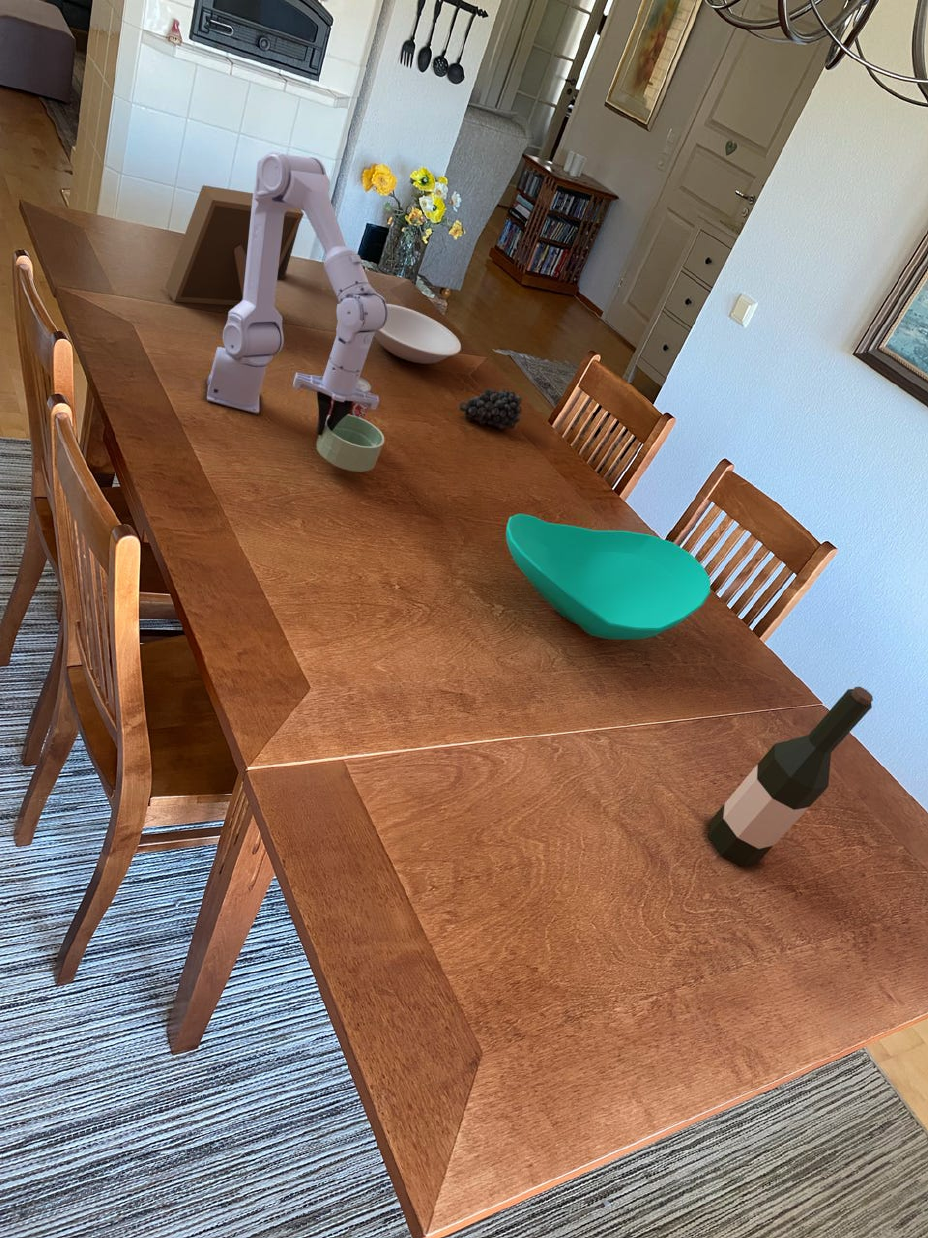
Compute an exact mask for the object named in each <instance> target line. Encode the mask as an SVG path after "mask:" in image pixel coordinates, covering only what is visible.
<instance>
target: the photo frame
mask: <svg viewBox="0 0 928 1238" xmlns="http://www.w3.org/2000/svg"><path fill="white" fill-rule="evenodd" d="M252 199H253V192H247V191H241V190H235V189H228V188H223V187H216V186H212V185H211V186H210V185H205V184H203V185H202V186H201V189H200V192H199V195H198V197H197V200H196V203H195V204H194V208H193V211H192V214H191V216H190V220H189V222H188V225H187V227H186V230H185V233H184V236H183V238H182V240H181V243H180V247H179V249H178V252H177V254H176V258H175V260H174V263H173V265H172V268H171V270H170V274H169V276H168V279H167V283H166V285H165V290H166V291H167V292H168V294H169V295H170V297H171V299H172V301H173V302H174V303H175V302H176V303H192V304H206V305H223V306H236V305H238V304H239V303H240V302H241V301H242V300H243V291H244V281H245V271H246V261H247V250H248V240H249V230H250V220H251V209H252ZM304 213H305V212H304V211H303V210H301V209H299V208H297V207H295V206H294V207H292V208H291V209H290V210H288V211H287V212H286V213H285V214H284V223H283V231H282V240H281V249H280V258H279V267H280V265H281V263H282V261H283V259H284V256H285V254H286V252H287V250H288V248H289V246H290V243H291V241H292V239H293V237H294V235H295V232H296V230H297V228H298V229H299V227H300V224H301V222H302V219H303V217H304V215H305V214H304ZM298 226H299V227H298ZM279 267H278V270H279Z"/></svg>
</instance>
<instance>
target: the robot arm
mask: <svg viewBox="0 0 928 1238" xmlns="http://www.w3.org/2000/svg"><path fill="white" fill-rule="evenodd" d="M330 188H331V180H330V178H329V177H328V175H327V171H326V167H325V165H324V164H323V162H322V161H321V160H320V159H318V158H317V157H314V156H309V157H306V156H300V155H299V156H298V155H291V154H286V153H281V152H278V151H269V152H268V153H266V154H265V155H264V156H263V157H261V158H259V160H258V161H257V165H256V175H255V186H254V189H253V191H252V193H253V199H252V209H251V220H250V230H249V240H248V250H247V261H246V271H245V281H244V291H243V300H242V301H241V302H240V303H239V304H238V305H234V306H233V308H231V309H230V310H229V311H228V314H227V320H226V324H225V325H224V328H223V329H222V343H223V346H224V347H220V346H217V348H216V351H215V354H214V358H213V362H212V366H211V371H210V374H209V375H208V377H207V382H206V385H207V392H206V393H207V394H206V400H207V401H208V402H211V403H216V404H218V405H219V404H220V405H223V406H226V407H231V408H234V409H237V410H242V411H245V412H249V413H253V414H259V413H260V394H261V390H262V386H263V383H264V380H265V376H266V373H267V368H268V365H269V363H270V362H272V361H273V358H274V356H276V355H278V354H279V353H280V352H281V351H282V350H283V347H284V342H285V339H284V338H285V337H284V331H283V316H282V315H281V314H280V312H279V311H278V310H277V309H276V307H275V303H276V301H275V300H276V292H277V283H278V278H277V275H278V267H279V258H280V249H281V240H282V231H283V223H284V214H285V213H286V212H287V211H288V210H290V209H291V208H292V207H294V206H295V207H297V208H299V209H301V210H302V212H304V213H305V215H306V217H307V219H308V222H309V223H310V224H311V225H310V226H311V227H312V229H313V231H314V233H315V234H316V237H317V238H318V241H319V243H320V244H321V247H322V248H323V250H324V253H325V254H326V256H325V259H324V261H323V262H324V263H323V268H324V270H325V273H326V275H327V278H328V281H329V282H330V284H331V287H332V289H333V292H334V294H335V296H336V299H337V301H338V303H337V305H336V319H337V325H336V329H335V331H336V332H335V333H336V336H335V339H334V340H333V341H334V342H333V345H332V348H331V351H330V354H329V358H328V361H327V364H326V365H325V366H326V367H325V369H324V373H323V376H321V375H311V374H305V373H300V372H295V374H294V378H293V381H292V388H294V389H296V390H300V389H303V390H307V391H311V392H314V393H316V399H317V405H318V420H317V427H316V434H317V435H318V436H319V435H322V432H323V429H324V425H325V421H326V419H327V416H328V414H329V411H330V409H331V407H332V406H331V401H332V398H333V399H334V403H333V407H332V410H331V413H330V416H329V419H328V421H327V425H328V427H329V429H330V430H331V431H333V429H334V428H335V426H336V425H337V424H338V423H339V422H340V421H341V420H342V419H343V418H344V417H345V416H346V415H348V414H349V413H350V411H351V409H352V402H353V403H357V404H360V405H364V406H367V407H368V408H369V409H370V410H372V411H377V408H378V405H379V402H380V399H379V395H377V394H374V393H372V392H370V393H369V392H366V391H364V390H362V389H360V388H357V387H356V386H357V383H358V380H359V377H360V378H361V375H362V371H363V369H364V365H365V363H366V360H367V356H368V354H369V351H370V348H371V346H372V342H373V340H374V338H375V336H374V334H375V332H372V331H376V330H379V329H381V328H383V327H384V325H385V324H386V321H387V318H388V309H387V305H386V304H387V301H386V299H385V297H384V296H383V295H381V294H380V293H378V292H376V290H375V288H373V287H372V285H371V284H370V282H369V279H368V277H367V274H366V272H365V270H364V267H363V265H362V262H363V261H362V258H361V255H359V254H358V253H357V251H356V250H354V249H352V248H349V247H348V246H347V244H346V242H345V239H344V236H343V233H342V230H341V227H340V224H339V222H338V219H337V215H336V212H335V210H334V207H333V203H332V201H331V198H330V196H329V192H330ZM331 397H332V398H331Z"/></svg>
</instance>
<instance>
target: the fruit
mask: <svg viewBox="0 0 928 1238" xmlns="http://www.w3.org/2000/svg"><path fill="white" fill-rule="evenodd" d="M522 401H523V399H522V397H521V396H520V395H516V392H515V391H513V390H506V389H505V388H500V389H499V391H498V390H495V389H494V390H492V389H490V388H487V389H485V390H484V392H483V393H480V395H479V396H473V397H471V398H470V399H468V401H467V402H464V401H463V402H461V403H459V405H458V407H459V410H460V411H462V412H464V415H463V416H464V418H465V419H466V420H471V421H473V420H475V419H476V420H477V421H478V423H479V424H480V425H485V424H487V425H489V426H491V427H494V426H495V427H496V428H497V429H498V430H503V429H504V428H505V427H507V428H508V429H509V430H513V429H515V427H516V424H517V423H519V422H520V421H521V415H520V414H522V415H523V414H524V413H523V409H522V406H520V405H521V404H522ZM486 422H487V423H486Z"/></svg>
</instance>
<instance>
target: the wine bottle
mask: <svg viewBox="0 0 928 1238" xmlns="http://www.w3.org/2000/svg"><path fill="white" fill-rule="evenodd" d="M873 701H874V699H873V695H872V693H870V692H869V691H868V689H866V688H864V687H862V686H855V687H854V688H848V689H847V690H846V691H845V692H844V693H843V695H842V696H841V697H840V698H839V699H838V700H837V701H836V703H834V705H833V706H832V708H831V709H830V710H828V712H827V713H826V714H825V715H824V717H822V719H821V720H820V721H819V722H818V723H817V725H815V727H814V728H813V729H812V731H810V733H809V734H806V735H803V736H798V737H794V738H791V739H787V740H783V741H779V742H775V743H774V744H773V745H772V747H771V748H769V750H768V751H767V752H766V754H764V756H763V757H762V758H761V759H760V761H759V762H758V763H757V764H756V765H755V766H754V768H752V770H751V771H750V773H749V774H748V775H747V777H745V779H743V780H742V782H741V783H740V785H739V786H738V787H737V788H736V789H735V790H734V791H733V793H732V794H730V796H729V797H728V799H726V801H725V802H724V803H723V805H722V806H721V807H720V808H719V809H718V811H717V812H716V813H715V814H714V815H713V816H712V818H711V819H710V820H709V822H708V830H707V838H708V840H709V841H710V843H711V844H712V846H713V847H714V848H715V850H716V852H718V854H719V855H720V856H721V857H722V858H724V859H725V860H727V861H730V862H731V863H733V864H735V865H737V866H739V867H740V868H744V867H749V866H753V865H757V864H759V863H760V861H761V860H762V859H763V858H764V857H765V856H766V855H767V854H768V853H769V851H771V849H772V848H774V846H775V845H776V844H777V843H778V842H779V841H780V840H781V839H782V837H784V836H785V834H786V833H787V832H788V831H789V830H790V829H791V827H793V826H794V825H795V823H796V822H797V821H798V820H799V819H800V818H801V817H802V816H803V815H804V814H805V813H806V812H807V811H808V809H810V807H811V806H813V804H814V803H815V802H816V801H817V800H818V798H819V797H820V796H821V795H822V794H823V793H824V792H825V791H826V790H827V788H829V785H830V783H829V782H830V781H829V780H830V774H831V773H830V772H831V760H832V752H833V751H835V749H836V748H837V747H838V746H839V745H840V744H841V742H842V741H843V740H844V739H845V738H846V737H847V735H849V734H850V732H852V731H853V729H854V728H855V727H856V726H857V725H858V723H859V722H860V721H861V720H862V719H863V718H864V717H865V715H867V713H868V712H869V711H870V710H871V709H872V708H873V705H872V702H873Z"/></svg>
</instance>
